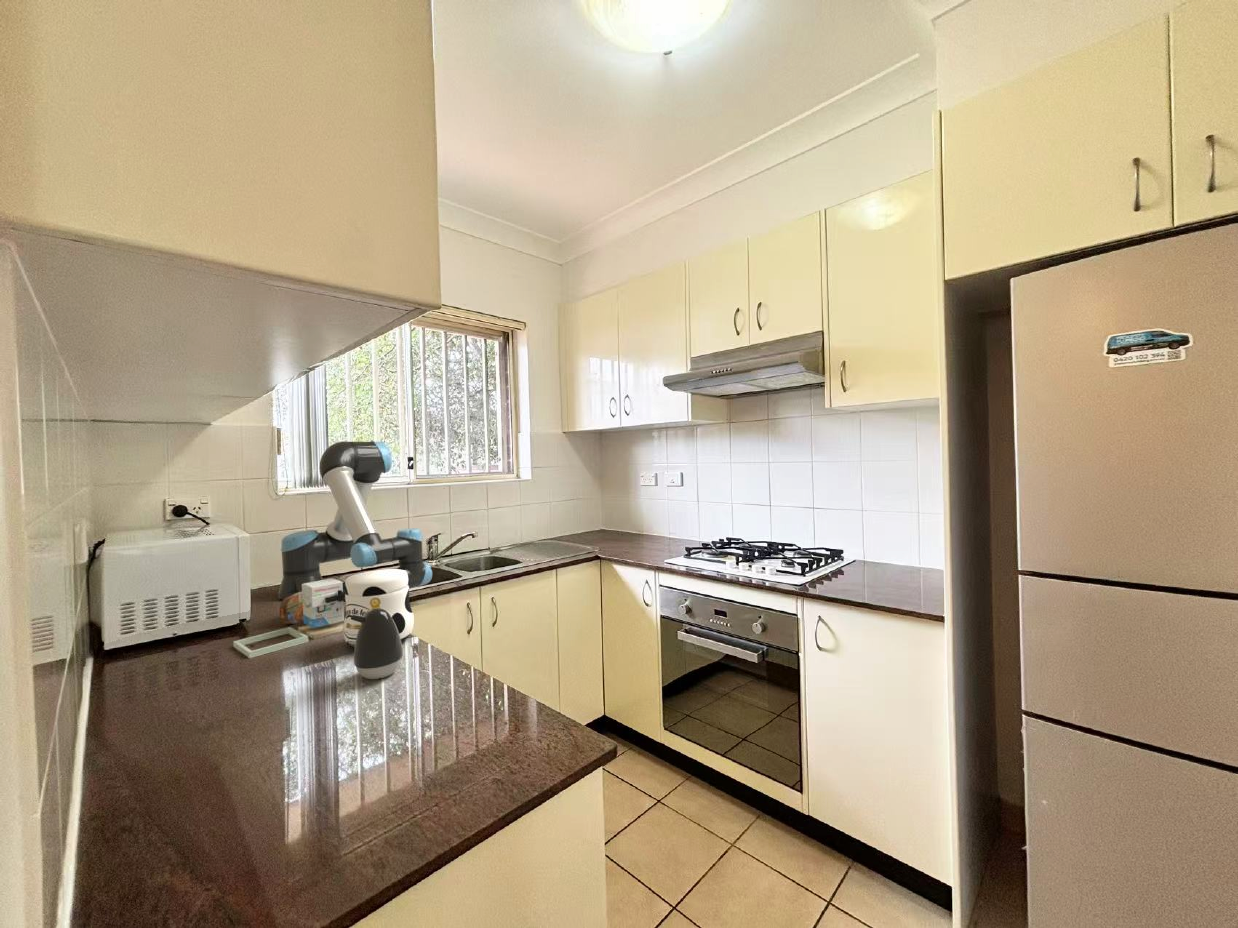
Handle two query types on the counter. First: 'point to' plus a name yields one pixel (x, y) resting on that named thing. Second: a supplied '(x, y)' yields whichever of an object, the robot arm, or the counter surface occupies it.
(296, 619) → the tin
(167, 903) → the counter surface
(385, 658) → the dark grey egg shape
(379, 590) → the milk container
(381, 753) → the counter surface
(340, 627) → the pad
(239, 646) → the tray
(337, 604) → the ink box
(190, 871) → the counter surface
